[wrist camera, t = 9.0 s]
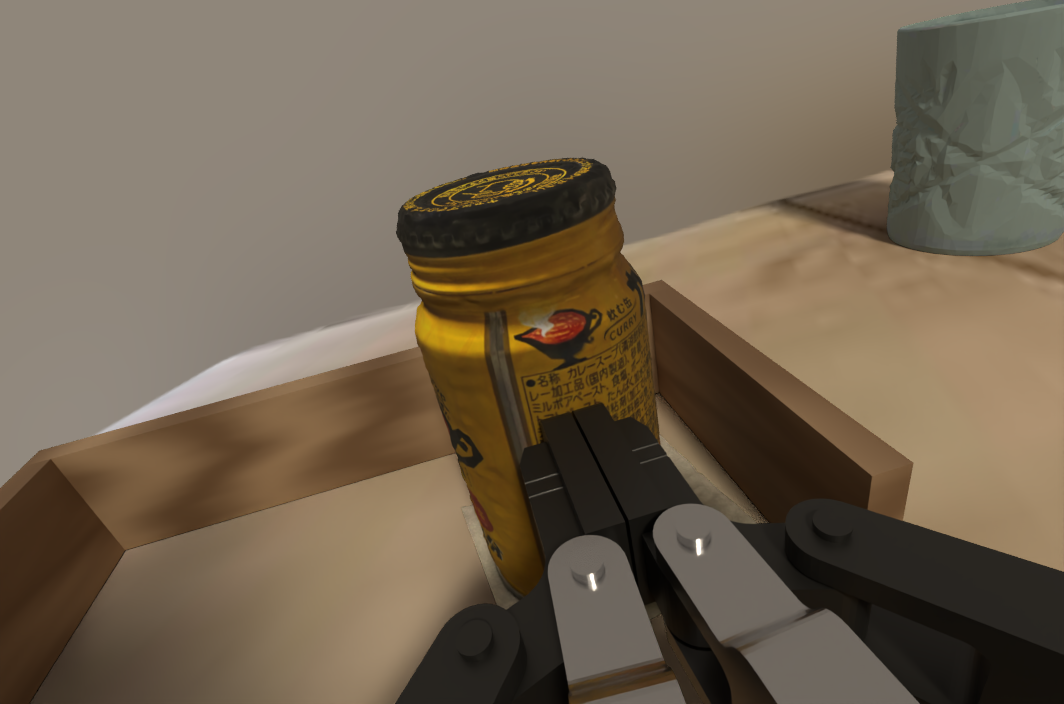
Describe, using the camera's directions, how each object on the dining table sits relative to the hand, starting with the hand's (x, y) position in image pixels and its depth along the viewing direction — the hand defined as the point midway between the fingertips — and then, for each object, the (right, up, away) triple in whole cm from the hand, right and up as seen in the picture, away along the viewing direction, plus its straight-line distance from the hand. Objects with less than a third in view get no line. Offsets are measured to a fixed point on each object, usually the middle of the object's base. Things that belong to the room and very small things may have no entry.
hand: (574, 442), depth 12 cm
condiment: (+2, -4, +6) cm, 7 cm away
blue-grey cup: (+27, +10, +20) cm, 35 cm away
